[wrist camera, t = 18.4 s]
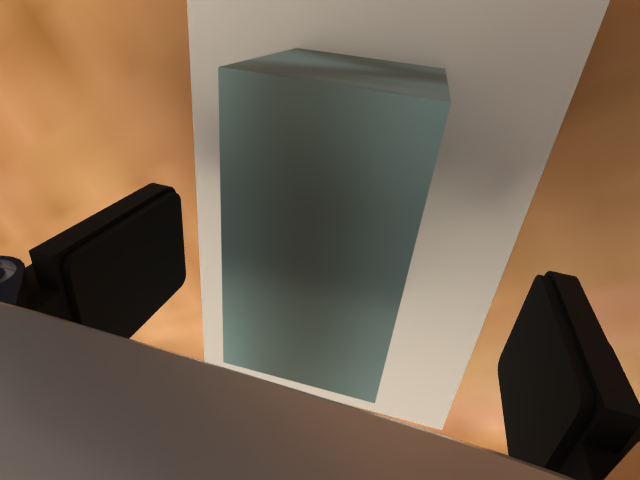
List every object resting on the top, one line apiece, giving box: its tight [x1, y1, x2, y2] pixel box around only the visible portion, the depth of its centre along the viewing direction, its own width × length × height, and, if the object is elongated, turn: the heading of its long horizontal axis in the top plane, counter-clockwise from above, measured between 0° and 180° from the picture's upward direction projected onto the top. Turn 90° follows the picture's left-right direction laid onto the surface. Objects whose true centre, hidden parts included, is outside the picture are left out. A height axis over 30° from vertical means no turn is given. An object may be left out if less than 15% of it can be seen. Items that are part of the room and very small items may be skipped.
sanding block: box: [218, 48, 451, 403], centre depth 13 cm, size 5×9×6 cm, turn 173°
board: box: [187, 0, 610, 430], centre depth 17 cm, size 13×24×2 cm, turn 173°
